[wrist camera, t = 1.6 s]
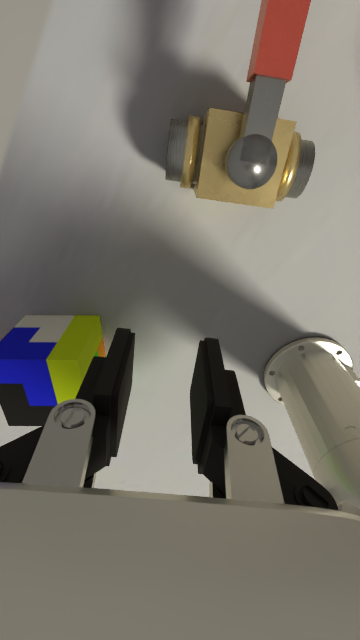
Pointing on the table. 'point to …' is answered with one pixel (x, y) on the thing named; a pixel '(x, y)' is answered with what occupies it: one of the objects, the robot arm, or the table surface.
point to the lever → (266, 90)
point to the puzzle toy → (45, 364)
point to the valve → (210, 152)
